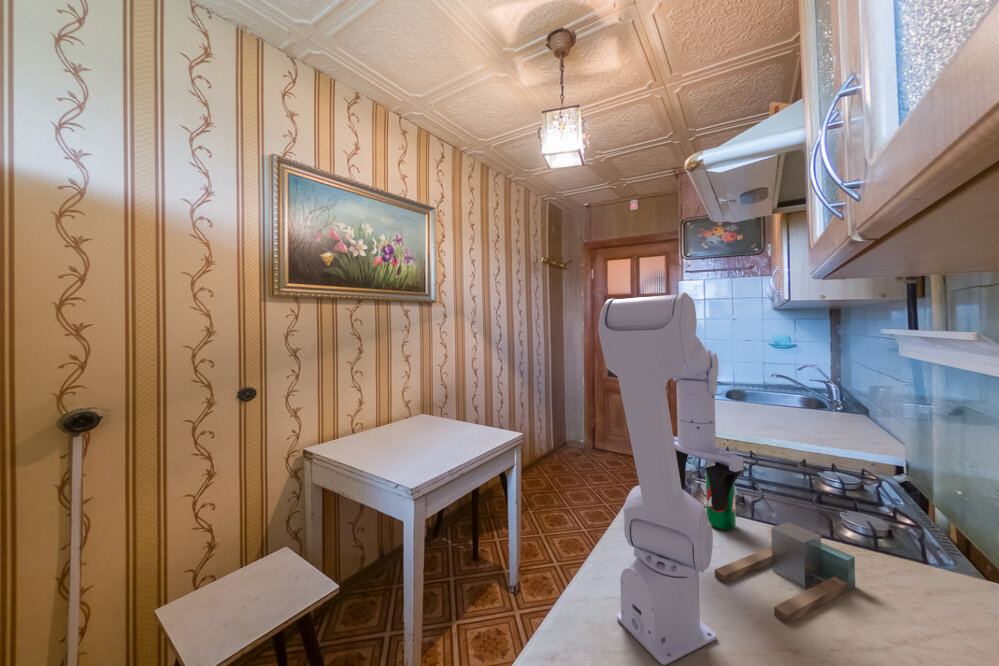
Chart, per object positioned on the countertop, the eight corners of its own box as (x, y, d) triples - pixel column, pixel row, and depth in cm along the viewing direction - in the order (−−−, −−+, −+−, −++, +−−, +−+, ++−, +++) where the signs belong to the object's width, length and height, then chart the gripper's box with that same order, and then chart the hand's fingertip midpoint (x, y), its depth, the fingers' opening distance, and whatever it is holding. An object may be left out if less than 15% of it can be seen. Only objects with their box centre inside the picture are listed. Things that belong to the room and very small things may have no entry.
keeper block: (805, 589, 54) (803, 542, 54) (772, 571, 58) (771, 527, 58) (822, 580, 56) (820, 535, 56) (789, 563, 60) (788, 521, 60)
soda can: (740, 533, 69) (739, 470, 69) (711, 530, 70) (710, 469, 70) (729, 519, 74) (727, 461, 74) (702, 517, 75) (701, 460, 75)
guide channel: (787, 624, 47) (786, 590, 47) (714, 577, 57) (714, 548, 57) (855, 586, 54) (854, 556, 54) (780, 550, 63) (779, 524, 63)
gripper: (755, 426, 56) (757, 513, 56) (676, 409, 69) (678, 479, 69) (725, 432, 53) (727, 523, 53) (649, 413, 67) (651, 486, 66)
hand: (697, 499), depth 61 cm, fingers open, 7 cm apart
